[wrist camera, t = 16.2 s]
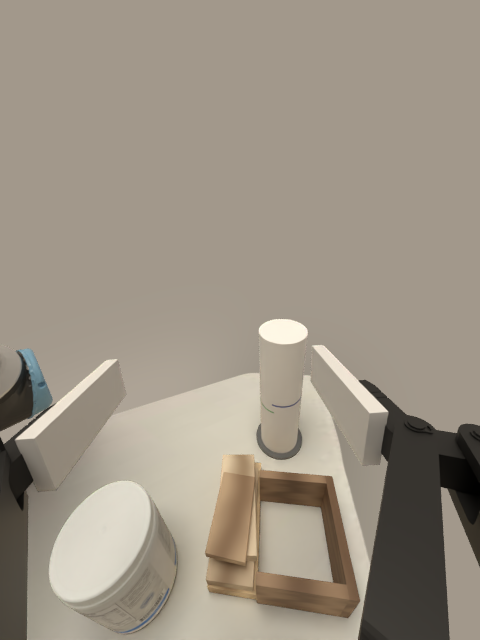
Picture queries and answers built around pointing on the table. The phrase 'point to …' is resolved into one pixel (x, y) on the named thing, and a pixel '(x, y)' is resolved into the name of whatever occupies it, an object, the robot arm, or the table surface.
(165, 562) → the supplement tub
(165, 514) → the table surface
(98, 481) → the table surface
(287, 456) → the rubber mat
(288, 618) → the table surface
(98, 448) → the table surface
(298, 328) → the cylindrical container
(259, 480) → the offcut rack
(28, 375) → the robot arm
